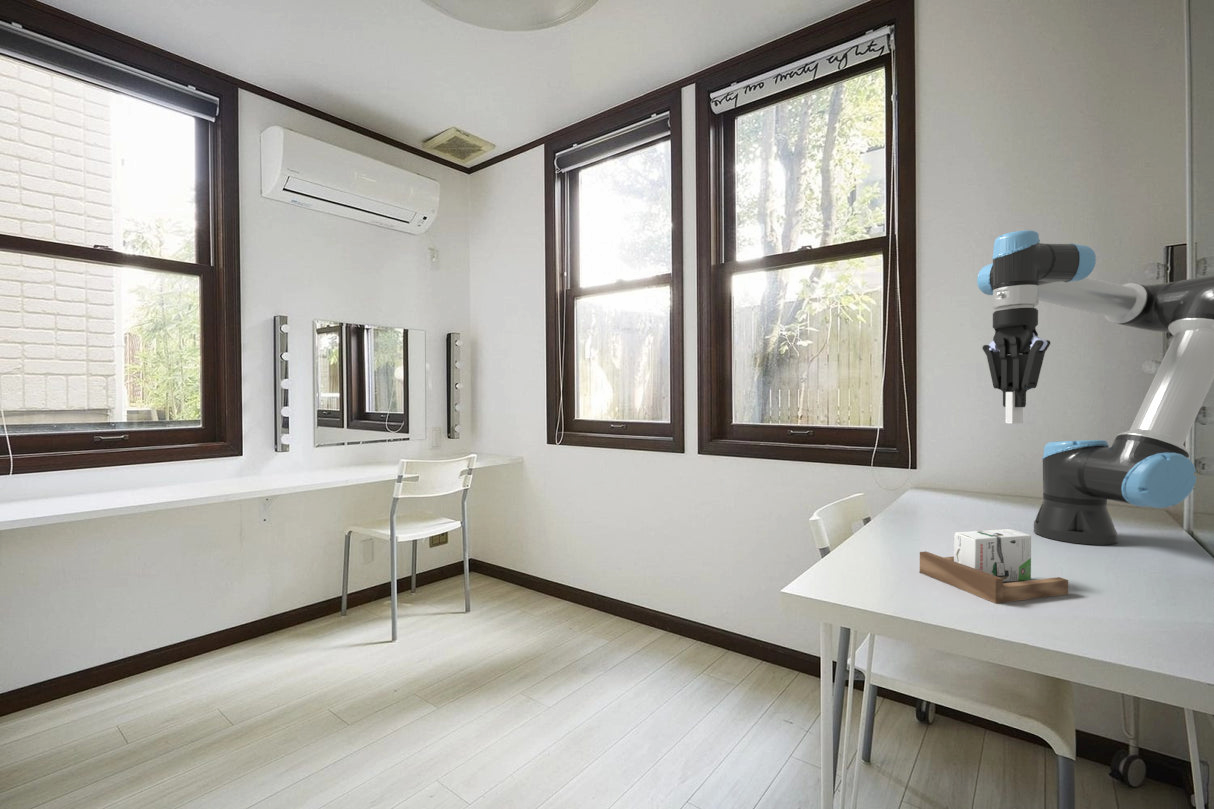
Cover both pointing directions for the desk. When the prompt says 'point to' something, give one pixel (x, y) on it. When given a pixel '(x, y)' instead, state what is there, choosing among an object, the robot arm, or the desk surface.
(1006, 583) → the u rest
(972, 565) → the ink box
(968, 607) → the desk surface
